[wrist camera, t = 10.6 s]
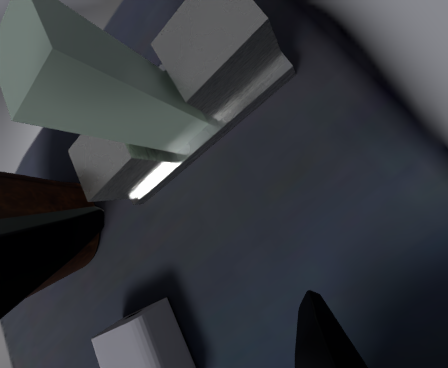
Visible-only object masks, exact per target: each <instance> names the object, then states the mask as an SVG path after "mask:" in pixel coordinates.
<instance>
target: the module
mask: <svg viewBox="0 0 448 368" xmlns="http://www.w3.org/2000/svg"><path fill="white" fill-rule="evenodd" d="M0 87H1V89H2V93H3V96H4V99H5V102H6V105H7V108H8V111H9V114H10V117H11V120H12V121H15V122H20V123H26V124H30V125H36V126H41V127H46V128H51V129H56V130H61V131H66V132H71V133H77V134H82V135H87V136H92V137H97V138H102V139H107V140H112V141H117V142H123V143H128V144H133V145H138V146H143V147H148V148H153V149H158V150H164V151H169V152H174V153H178V152H179V151H180V150H181V149H182V148H183V147H184V146H185V145H186V144H187V143H189V142H190V141H191V140H192V139H193V138H194V137H195V136H196V135H197V134H198V133H200V132H201V131H202V130H203V129H204V128H205V127H206V126H207V125H208V124H209V123H208V122H207V120H206V118H205V117H204V115H203V113H202V112H201V111H200V110H199V109H197V108H195V107H193V106H191V105H190V104H188V103H186V102H185V100H184V99H183V97H182V95H181V94H180V92H179V90H178V89H177V87H176V85H175V84H174V82H173V80H172V79H171V77H170V75H169V74H168V73H166V72H165V71H163V70H162V69H160V68H159V67H157V66H156V65H154V64H153V63H151V62H150V61H148V60H147V59H145V58H144V57H142V56H141V55H139V54H138V53H136V52H135V51H133V50H132V49H130V48H129V47H127V46H126V45H124V44H123V43H121V42H120V41H118V40H117V39H115V38H114V37H112V36H111V35H109V34H108V33H106V32H105V31H103V30H102V29H100V28H99V27H97V26H96V25H94V24H93V23H91V22H90V21H88V20H87V19H85V18H84V17H82V16H81V15H79V14H78V13H76V12H75V11H73V10H72V9H70V8H69V7H67V6H66V5H64V4H63V3H61V2H60V1H59V0H10V2H9V5H8V7H7V10H6V12H5V14H4V17H3V19H2V21H1V23H0Z"/></svg>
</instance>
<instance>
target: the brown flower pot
mask: <svg viewBox="0 0 448 368" xmlns="http://www.w3.org/2000/svg"><path fill="white" fill-rule="evenodd" d="M93 206H95V205H94V203H93V202H88V201H87V199H86V196H85V194H84V191H83V188H82V186H81V184H78V183H70V182H60V181H53V180H48V179H42V178H36V177H30V176H26V175H19V174H13V173H6V172H0V219H4V218H12V217H19V216H27V215H34V214H41V213H49V212H56V211H64V210H71V209H78V208H86V207H93ZM98 241H99V233H98V234H97V235H96V236H95V237H94V238H93V239H92V240H91V241H90V242H89V243H88V244H87V245H86V246H85V247H84V248H83V249H82V250H81V251H80V252H79V253H78V254H77V255H76V256H75V257H74V258H73V259H72V260H70V261H69V262H68V263H67V264H66V265H64V266H63V267H62V268H61V269H60V270H59V271H57V272H56V273H55V274H54V275H53V276H51V277H50V278H49V279H48V280H47V281H45V282H44V283H43V284H42V285H41V286H39V287H38V288H37V289H36V290H35V291H33V292H32V293H31V294H30V295H29V296H31V295H33V294H34V293H36V292H38V291H40V290H42V289H44V288H45V287H47V286H49V285H51V284H53V283H55V282H57V281H58V280H60V279H62V278H64V277H66V276H68V275H70V274H71V273H73V272H75V271H77V270H79V269H81V268H83V267H84V266H86V265H87V264H88V263H89V262H90V261H91V259H92V258H93V257H94V255H95V252H96V249H97V246H98ZM29 296H27V297H29ZM27 297H26V298H27Z"/></svg>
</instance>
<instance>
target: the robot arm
mask: <svg viewBox="0 0 448 368" xmlns="http://www.w3.org/2000/svg"><path fill="white" fill-rule="evenodd" d="M103 227H104V210H103V209H101V208H98V207H95V206H93V207H86V208H78V209H71V210H64V211H56V212H49V213H41V214H34V215H27V216H19V217H12V218H4V219H0V319H1V318H2V317H4V316H5V315H6V314H7V313H8V312H10V311H11V310H12V309H13V308H14V307H16V306H17V305H18V304H19V303H20V302H22V301H23V300H24V299H25V298H26V297H27V296H29V295H30V294H31V293H32V292H33V291H35V290H36V289H37V288H38V287H39V286H41V285H42V284H43V283H44V282H45V281H47V280H48V279H49V278H50V277H51V276H53V275H54V274H55V273H56V272H57V271H59V270H60V269H61V268H62V267H63V266H64V265H66V264H67V263H68V262H69V261H70V260H72V259H73V258H74V257H75V256H76V255H77V254H78V253H79V252H80V251H81V250H82V249H83V248H84V247H85V246H86V245H87V244H88V243H89V242H90V241H91V240H92V239H93V238H94V237H95V236H96V235H97V234H98V233H99V232H100V231H101V230H102V229H103ZM295 368H368V367H367V365H366V364H365V362H364V361H363V359H362V358H361V356H360V355H359V353H358V352H357V350H356V349H355V347H354V345H353V344H352V342H351V341H350V339H349V338H348V336H347V335H346V333H345V332H344V330H343V329H342V327H341V326H340V324H339V322H338V321H337V319H336V318H335V316H334V315H333V313H332V312H331V310H330V309H329V307H328V306H327V304H326V303H325V301H324V300H323V298H322V296H321V295H320V294H318V293H316V292H313V291H311V290H308V291H307V292H306V294H305V296H304V298H303V300H302V302H301V304H300V307H299V311H298V322H297V334H296V346H295Z"/></svg>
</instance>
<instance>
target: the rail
mask: <svg viewBox="0 0 448 368" xmlns="http://www.w3.org/2000/svg"><path fill="white" fill-rule="evenodd" d="M151 45H152V47H153V49H154V50H155V52H156V54H157V55H158V57H159V59H160V60H161V62H162V64H161V65H160V66H159V68H160V69H162V70H163V71H165V72H166V73H168V74H169V75H170V77H171V79H172V80H173V82H174V84H175V85H176V87H177V89H178V90H179V92H180V94H181V95H182V97H183V99H184V100H185V102H186V103H188V104H190V105H191V106H193V107H195V108H197V109H199V110H200V111H201V112H202V113H203V115H204V117H205V118H206V120H207V122H208V123H209V124H208V125H207V126H206V127H205V128H204V129H203V130H202V131H201V132H200V133H198V134H197V135H196V136H195V137H194V138H193V139H192V140H191V141H190V142H189V143H187V144H186V145H185V146H184V147H183V148H182V149H181V150H180V151H179V152H178V153H174V152H169V151H164V150H158V149H153V148H148V147H143V146H138V145H133V144H128V143H123V142H117V141H112V140H107V139H102V138H97V137H92V136H87V135H82V134H81V135H80V136H79V137H78V138H77V140H76V141H75V142H74V144H73V145H72V146H71V147H70V149H69V150H68V153H69V155H70V158H71V160H72V163H73V165H74V168H75V171H76V173H77V176H78V178H79V181H80V183H81V186H82V188H83V191H84V194H85V196H86V199H87V201H88V202H95V201H108V200H121V199H131V201H132V203H133V205H138V204H144V203H145V202H146V201H148V200H149V199H150V198H151V197H152V196H154V195H155V194H156V193H157V192H158V191H159V190H161V189H162V188H163V187H164V186H165V185H166V184H168V183H169V182H170V181H171V180H172V179H174V178H175V177H176V176H177V175H178V174H179V173H181V172H182V171H183V170H184V169H185V168H187V167H188V166H189V165H190V164H191V163H192V162H194V161H195V160H196V159H197V158H198V157H200V156H201V155H202V154H203V153H204V152H205V151H207V150H208V149H209V148H210V147H211V146H212V145H214V144H215V143H216V142H217V141H218V140H220V139H221V138H222V137H223V136H224V135H225V134H227V133H228V132H229V131H230V130H231V129H233V128H234V127H235V126H236V125H237V124H238V123H240V122H241V121H242V120H243V119H244V118H245V117H247V116H248V115H249V114H250V113H251V112H253V111H254V110H255V109H256V108H257V107H258V106H260V105H261V104H262V103H263V102H264V101H266V100H267V99H268V98H269V97H270V96H271V95H273V94H274V93H275V92H276V91H277V90H279V89H280V88H281V87H282V86H283V85H284V84H286V83H287V82H288V81H289V80H290V79H291V78H293V77H294V76H295V75H296V74H295V71H294V68H293V65H292V64H291V63H290V62H289V60H288V59H287V58H286V57H285V56H284V54H283V53H282V52H281V50H280V48H279V45H278V42H277V40H276V37H275V35H274V32H273V29H272V27H271V24H270V22H269V19H268V17H267V16H266V15H265V14H264V13H263V11H262V10H261V9H260V8H259V7H258V5H257V4H256V3H255V2H254V1H253V0H185V1H184V2H183V3H182V5H181V6H180V7H179V9H178V10H177V11H176V12H175V14H174V15H173V16H172V18H171V19H170V20H169V21H168V23H167V24H166V25H165V27H164V28H163V29H162V30H161V32H160V33H159V34H158V36H157V37H156V38H155V39H154V41H153V42H152V43H151Z"/></svg>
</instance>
